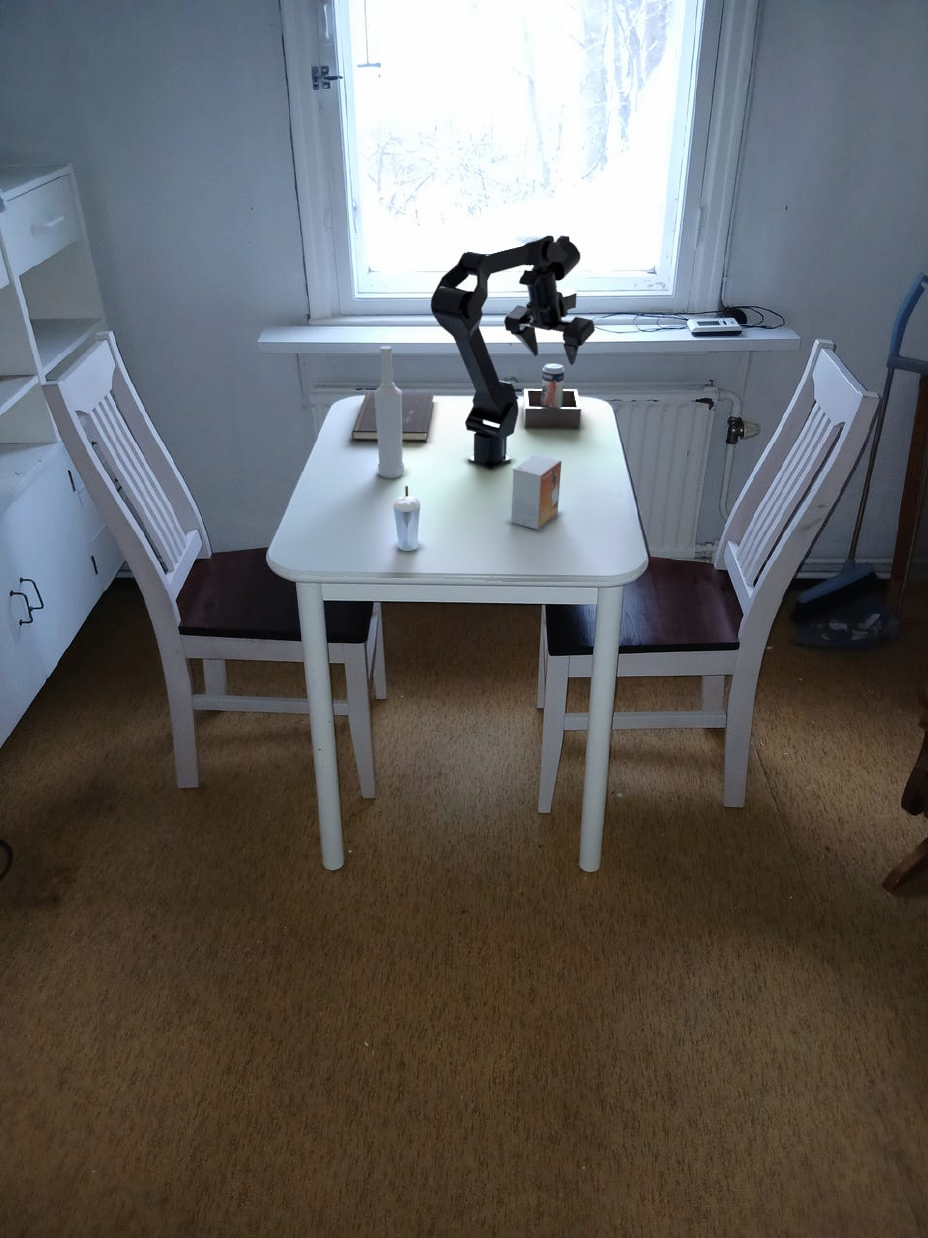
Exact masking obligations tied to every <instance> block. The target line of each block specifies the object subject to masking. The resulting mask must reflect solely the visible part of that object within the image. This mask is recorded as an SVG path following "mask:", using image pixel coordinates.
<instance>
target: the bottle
mask: <svg viewBox="0 0 928 1238" xmlns="http://www.w3.org/2000/svg"><path fill="white" fill-rule="evenodd" d="M392 358H393V351H392V346H390V345H381V346H380V359H381V360H380V362H381V363H380V364H381V383H380V385H379V387H378V388H377V389H376V390H375V391H374V392H373V393H374V395H375V409H376V423H377V437H378V441H377V450H378V464H377V470H378V474H379V475H380V476H381V477H383V478H386V479H396V478H399V477H402V476H403V474H404V472H405V464H404V462H403V442H402V394H401V393H402V390H401V389H400V388H399V387H397V386H396V385H395V382H394V379H393V359H392Z"/></svg>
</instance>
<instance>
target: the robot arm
mask: <svg viewBox="0 0 928 1238" xmlns="http://www.w3.org/2000/svg"><path fill="white" fill-rule="evenodd" d="M570 240H571V239H570V236H569V235H563V234H560V235H559V236H558V237H557V239H556V240H555V237H554V235H553V234H549V233H542V232H537V231H530V230H522V231H520V232H518V233H516V234H515V235H513V236H512V238H511V241H509V242H505V243H500V244H497V245H493V246H488V247H484V248H481V249H480V248H479V249H476V250H468V251H465V252H463V253H462V255H461V256H460V258H459V260H458V262H457V264H456V265H454V266H453V267H452V268H451V269H450V270H448V271H447V272H446V273H445V274H444V275H443V276H442V277H441V279H440V281H439V282H438V285H437V287H436V288H435V290H434V292H433V294H432V296H431V299H430V310H431V313H432V315H433V317H434V318H435V320H436V321H437V323H438V325H439V326H440V327H441V328H443V329H444V330H445V331H446V332H447V333H448V334H449V335H451V336H452V338H453V339H454V342H455V345H456V346H457V349H458V351H459V354H460V356H461V359H462V361H463V363H464V366H465V368H466V371H467V373H468V375H469V379H470V381H471V383H472V385H473V387H474V391H475V392H474V395H473V398H472V405H473V406H472V407H471V409H470V412H469V413H468V415H467V417H466V419H465V422H464V424H465V428H466V431H469V432H473V455H471V456H468V457H467V461H468V462H471V463H474V464H476V465H479V466H481V467H484V468H486V469H489V470H493V469H495V468H497V467H499V466H502V465H503V464H506V463H508V462H510V461H512V457H511V456H509V455H507V445H508V444H507V443H508V437H510V436H512V435H514V434H515V433H514V432H515V429H516V426H517V425H516V424H517V420H518V416H519V411H520V409H519V403H518V400H519V396H518V395H517V394H516V391H515V387H514V385H513V384H512V383H510V382H506V381H503V380H500V378H499V376H498V373H497V371H496V368H495V365H494V363H493V360H492V357H491V355H490V353H489V350H488V347H487V345H486V342H485V339H484V336H483V334H482V332H481V328H480V324H481V321H482V318H483V309H482V308H483V307H484V305H485V303H486V301H487V299H488V297H489V286H488V283H489V282H488V281H489V279H490V277H491V275H493V274H496V273H499V272H503V271H507V270H510V269H515V268H518V267H521V266H529V268H527V269H524V271H523V274H522V275H521V276H520V277H519V281H518V284H519V285H523V286H526V289H527V294H528V299H529V301H528V302H527V303H526V304H525V305H521V304H517V305H515V307H513V309H512V310H510V312H509V313H508V314H507V315H506V316H505V317H504V320H503V323H504V328H505V331H506V332H507V331H508V332H510V334H511V335H512V336H514V337H516V338H517V340H518V341H520V342H521V343H522V344H523V346H525V348H526V349H527V350H528V351H529V352H530V354H531V355H532V356H533V357H537V356H538V354H539V346H538V341H537V335H536V329H539V330H543V331H550V332H551V331H554V332H555V331H556V332H559V333H562V340H563V341H564V343H563V349H564V351H565V355H566V357H567V360H568V362H569V364H570V365H571V366H573V365H574V364H575V363H576V359H577V356H578V351H579V348H580V347H581V346H583V345H584V344H585V343H586V341H587V340H588V339H589V338H590V337H591V336H592V335H593V334H594V333H595V331H596V329H595V323H594V320H592V319H590V318H584V317H581V316H580V317H579V316H575V317H574V318H572V320H571V321H567V320H563V318H566V317H567V315H568V314H569V312H568V311H570V310H572V309H576V308H577V294H578V292H577V291H576V290H572V289H567V288H560V287H559V288H558V285H557V282H560V281H562V280H563V279H565V278H566V276H568V275H569V274H570V273H571V272H572V270H573V269H574V268H575V267H576V266H577V265H578V264H579V263H580V261H581V252H580V251H579V249H578V247H577V246H576V244H574V243H573V242H572V241H570ZM469 276H475V277H476V286H475V288H474V290H469V289H464V288H459V285H461V284H462V283H463V282H464V281H465V280H466V279H467V278H469ZM489 422H490V423H489Z"/></svg>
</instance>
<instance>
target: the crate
mask: <svg viewBox="0 0 928 1238" xmlns="http://www.w3.org/2000/svg"><path fill="white" fill-rule="evenodd" d="M541 395H542V388H540V389H538V388H524V389H523V403H522V405H523V407H522V408H523V409H522V410H523V424H524V428H525V429H580V428H581V415H582V407H581V402H580V397H579V393H578V389H563V398H562V408H561V407H541Z"/></svg>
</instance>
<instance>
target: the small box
mask: <svg viewBox="0 0 928 1238" xmlns="http://www.w3.org/2000/svg"><path fill="white" fill-rule="evenodd" d="M561 475H562V460H559V459H555V458H553V457H547V456H544V455H540V454H533V455H532V456H531V457H529V458H528V459H526V460H524V461H523V463H521V464H519V465H518V466H517V467H514V468H513V469H512V492H511V493H512V494H511V495H512V496H511V518H510V519H511V521H510V522H511V523H512V524H516V525H519V526H523V527H526V528H530V529H533V530H540V528H542V527H543V526H544V525H545V524H546V523H548V522H549V521H550V520H551V519H553V518H554V517H555V516H557V515H558V513H559V501H560V487H561V486H560V485H561Z"/></svg>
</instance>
